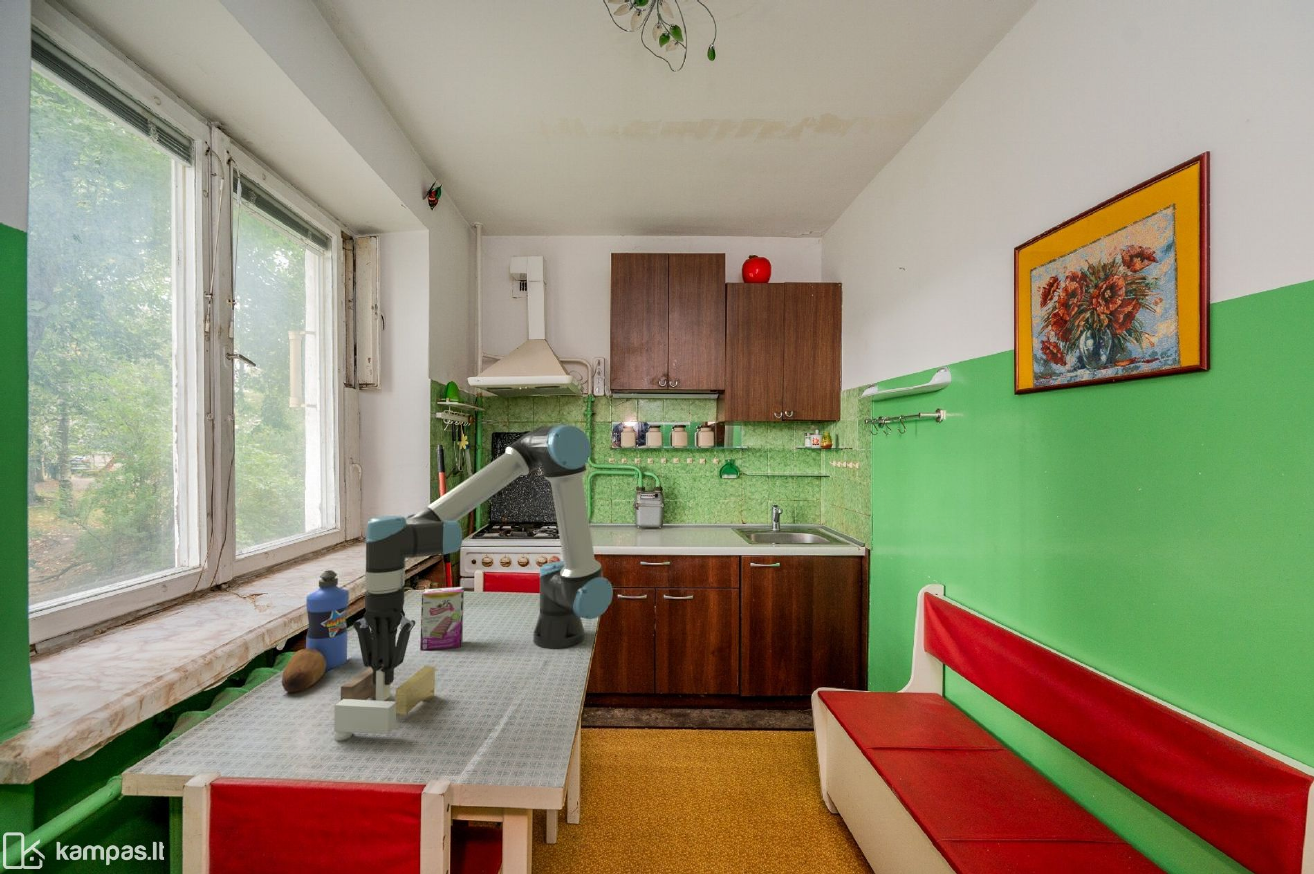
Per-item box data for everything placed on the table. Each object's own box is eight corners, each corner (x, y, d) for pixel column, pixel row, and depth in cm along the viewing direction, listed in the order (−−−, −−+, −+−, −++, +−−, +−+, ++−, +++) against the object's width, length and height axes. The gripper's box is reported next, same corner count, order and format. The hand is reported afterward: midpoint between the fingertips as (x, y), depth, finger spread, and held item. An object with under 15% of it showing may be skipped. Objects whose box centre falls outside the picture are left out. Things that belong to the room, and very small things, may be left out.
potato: (304, 710, 115) (268, 698, 112) (315, 673, 127) (282, 662, 124) (325, 682, 116) (290, 670, 112) (334, 648, 128) (303, 636, 124)
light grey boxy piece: (330, 740, 96) (331, 705, 96) (341, 731, 99) (342, 698, 99) (387, 743, 95) (387, 708, 96) (396, 734, 98) (397, 700, 98)
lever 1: (374, 691, 116) (375, 662, 116) (387, 692, 115) (387, 663, 116) (338, 718, 104) (339, 686, 104) (352, 719, 104) (353, 687, 104)
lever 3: (424, 694, 115) (424, 665, 115) (436, 694, 114) (437, 665, 114) (393, 721, 103) (394, 689, 103) (407, 722, 103) (408, 689, 103)
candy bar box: (419, 652, 141) (420, 593, 141) (422, 645, 146) (423, 588, 146) (462, 647, 144) (463, 590, 145) (463, 641, 149) (464, 585, 149)
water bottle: (355, 663, 133) (357, 569, 134) (319, 677, 125) (321, 577, 125) (333, 657, 137) (335, 565, 138) (296, 670, 129) (298, 573, 129)
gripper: (423, 584, 111) (421, 692, 111) (368, 583, 112) (365, 689, 112) (403, 594, 104) (401, 709, 103) (344, 592, 105) (342, 706, 104)
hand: (382, 698), depth 108 cm, fingers closed
